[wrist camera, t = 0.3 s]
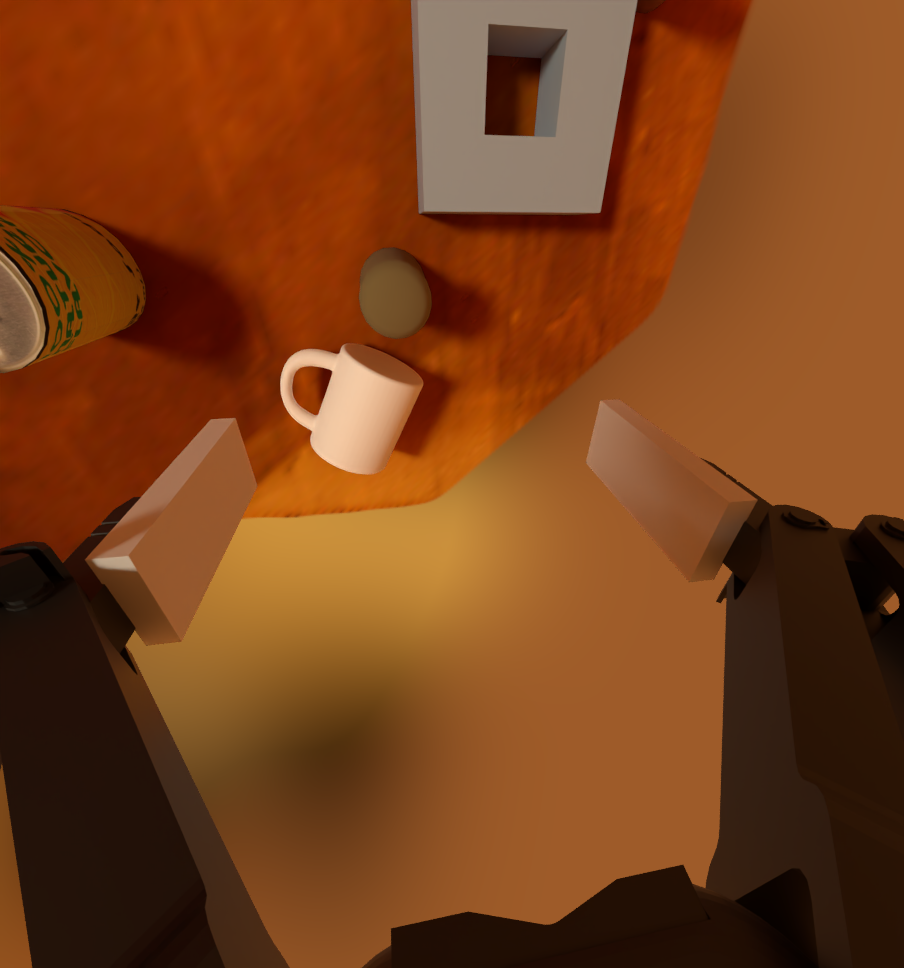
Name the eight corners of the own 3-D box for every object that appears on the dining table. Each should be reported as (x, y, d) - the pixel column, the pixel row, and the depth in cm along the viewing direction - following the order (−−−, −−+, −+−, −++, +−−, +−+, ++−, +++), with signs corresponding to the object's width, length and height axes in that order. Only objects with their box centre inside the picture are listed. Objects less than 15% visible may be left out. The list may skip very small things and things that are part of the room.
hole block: (409, -47, 25) (414, -102, 21) (609, -29, 27) (650, -76, 23) (419, 213, 33) (424, 211, 29) (574, 214, 35) (600, 212, 31)
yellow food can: (108, 203, 30) (-29, 189, 20) (165, 326, 35) (78, 364, 25) (-18, 213, 29) (-227, 204, 19) (59, 337, 34) (-75, 381, 24)
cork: (428, 251, 35) (444, 259, 25) (423, 323, 38) (436, 352, 29) (359, 243, 33) (349, 247, 24) (360, 317, 37) (352, 346, 28)
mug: (420, 368, 40) (428, 395, 34) (385, 447, 45) (385, 484, 38) (303, 315, 36) (285, 334, 29) (277, 408, 40) (256, 442, 34)
